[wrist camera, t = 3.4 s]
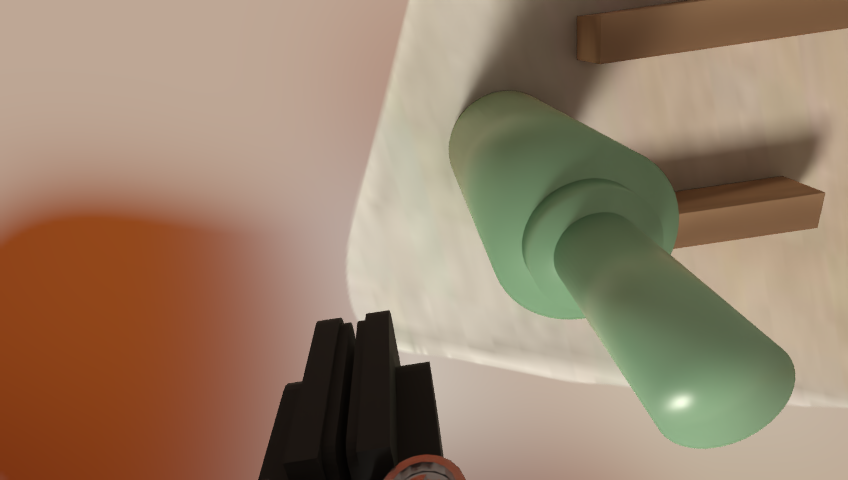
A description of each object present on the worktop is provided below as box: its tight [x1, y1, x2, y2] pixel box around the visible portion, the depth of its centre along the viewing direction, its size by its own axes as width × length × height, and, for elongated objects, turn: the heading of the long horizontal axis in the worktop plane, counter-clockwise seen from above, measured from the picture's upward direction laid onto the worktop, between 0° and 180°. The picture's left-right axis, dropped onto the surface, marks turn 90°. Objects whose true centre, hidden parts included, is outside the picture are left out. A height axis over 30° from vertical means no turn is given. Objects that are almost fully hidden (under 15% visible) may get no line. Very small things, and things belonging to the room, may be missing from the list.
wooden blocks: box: [577, 0, 848, 249], centre depth 25 cm, size 12×22×3 cm, turn 97°
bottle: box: [449, 91, 795, 449], centre depth 17 cm, size 6×6×19 cm
